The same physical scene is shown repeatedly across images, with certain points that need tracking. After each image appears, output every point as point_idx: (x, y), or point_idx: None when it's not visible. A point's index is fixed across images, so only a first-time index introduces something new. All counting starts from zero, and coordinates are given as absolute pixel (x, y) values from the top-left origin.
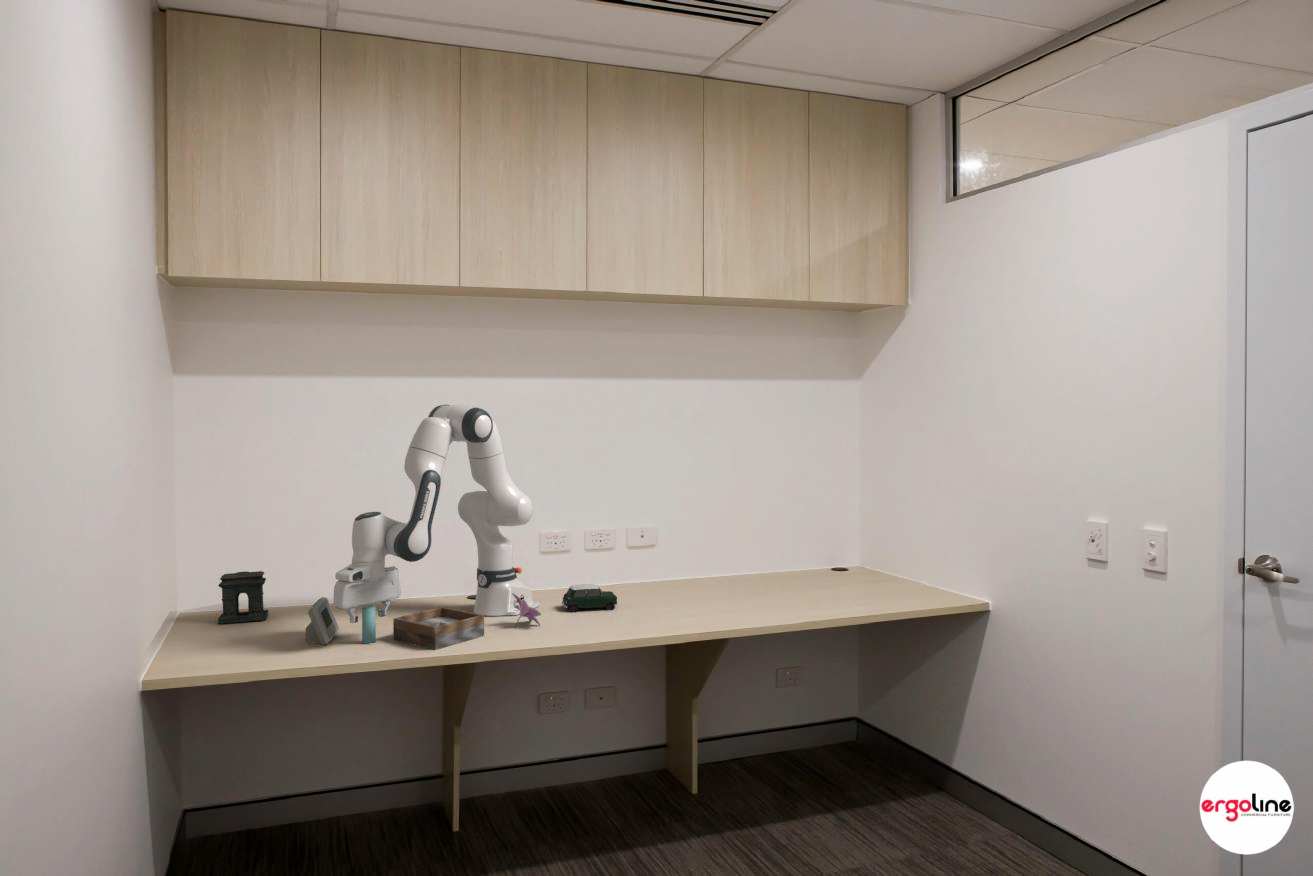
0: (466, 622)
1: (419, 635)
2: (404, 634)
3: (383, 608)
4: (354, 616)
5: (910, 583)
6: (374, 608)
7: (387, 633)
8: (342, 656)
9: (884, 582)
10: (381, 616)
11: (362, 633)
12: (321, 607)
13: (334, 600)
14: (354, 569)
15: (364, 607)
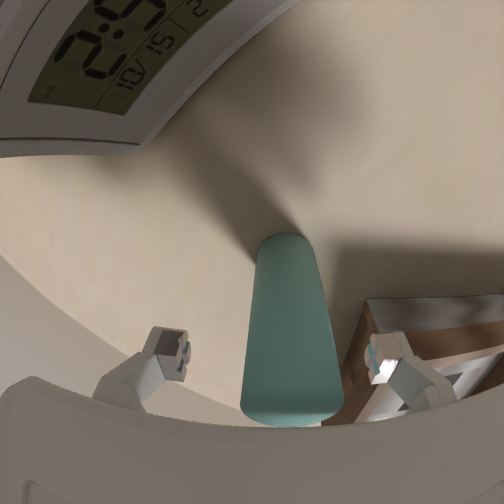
0: None
1: (337, 412)
2: (355, 366)
3: (399, 379)
4: (157, 380)
5: None
6: (304, 420)
7: (430, 211)
8: (124, 311)
9: None
10: (365, 352)
11: (256, 274)
12: (43, 17)
13: (3, 412)
14: None
15: (268, 396)
